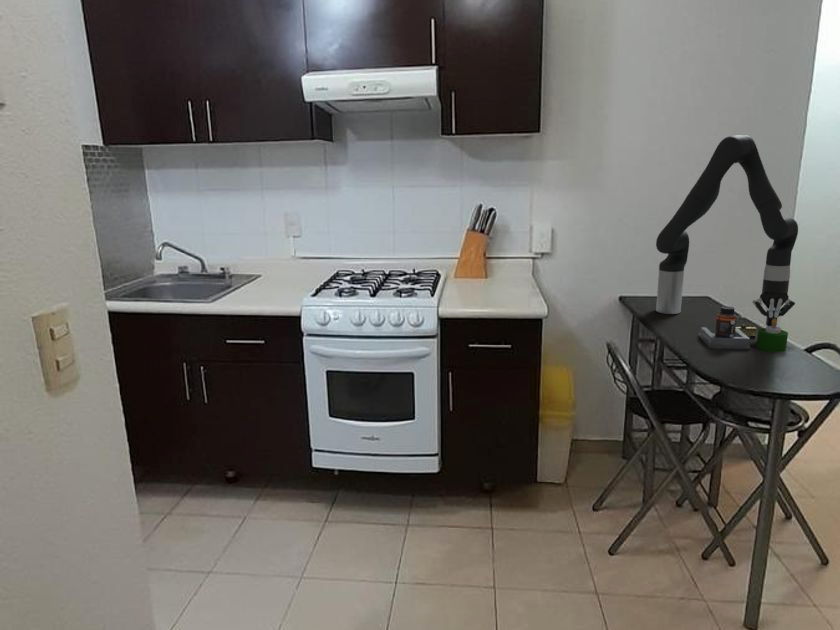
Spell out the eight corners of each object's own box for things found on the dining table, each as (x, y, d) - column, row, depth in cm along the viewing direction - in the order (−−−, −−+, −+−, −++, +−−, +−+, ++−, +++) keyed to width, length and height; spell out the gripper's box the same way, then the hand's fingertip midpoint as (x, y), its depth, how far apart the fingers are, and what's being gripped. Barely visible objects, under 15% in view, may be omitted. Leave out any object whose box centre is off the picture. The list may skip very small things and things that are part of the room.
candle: (759, 351, 188) (763, 321, 185) (754, 343, 196) (757, 314, 193) (788, 352, 185) (793, 322, 183) (782, 345, 193) (786, 315, 190)
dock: (698, 335, 205) (699, 326, 204) (735, 336, 203) (736, 326, 202) (710, 348, 192) (711, 338, 191) (749, 349, 190) (751, 338, 189)
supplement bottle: (736, 343, 193) (740, 309, 190) (717, 342, 194) (720, 309, 191) (731, 337, 199) (734, 305, 196) (712, 337, 200) (715, 305, 197)
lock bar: (729, 335, 205) (730, 324, 204) (754, 335, 204) (755, 324, 203) (730, 336, 204) (731, 325, 203) (755, 336, 202) (757, 325, 201)
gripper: (793, 275, 199) (787, 325, 203) (751, 276, 202) (746, 324, 206) (802, 280, 192) (796, 330, 196) (759, 280, 194) (753, 330, 199)
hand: (770, 327), depth 201 cm, fingers closed
